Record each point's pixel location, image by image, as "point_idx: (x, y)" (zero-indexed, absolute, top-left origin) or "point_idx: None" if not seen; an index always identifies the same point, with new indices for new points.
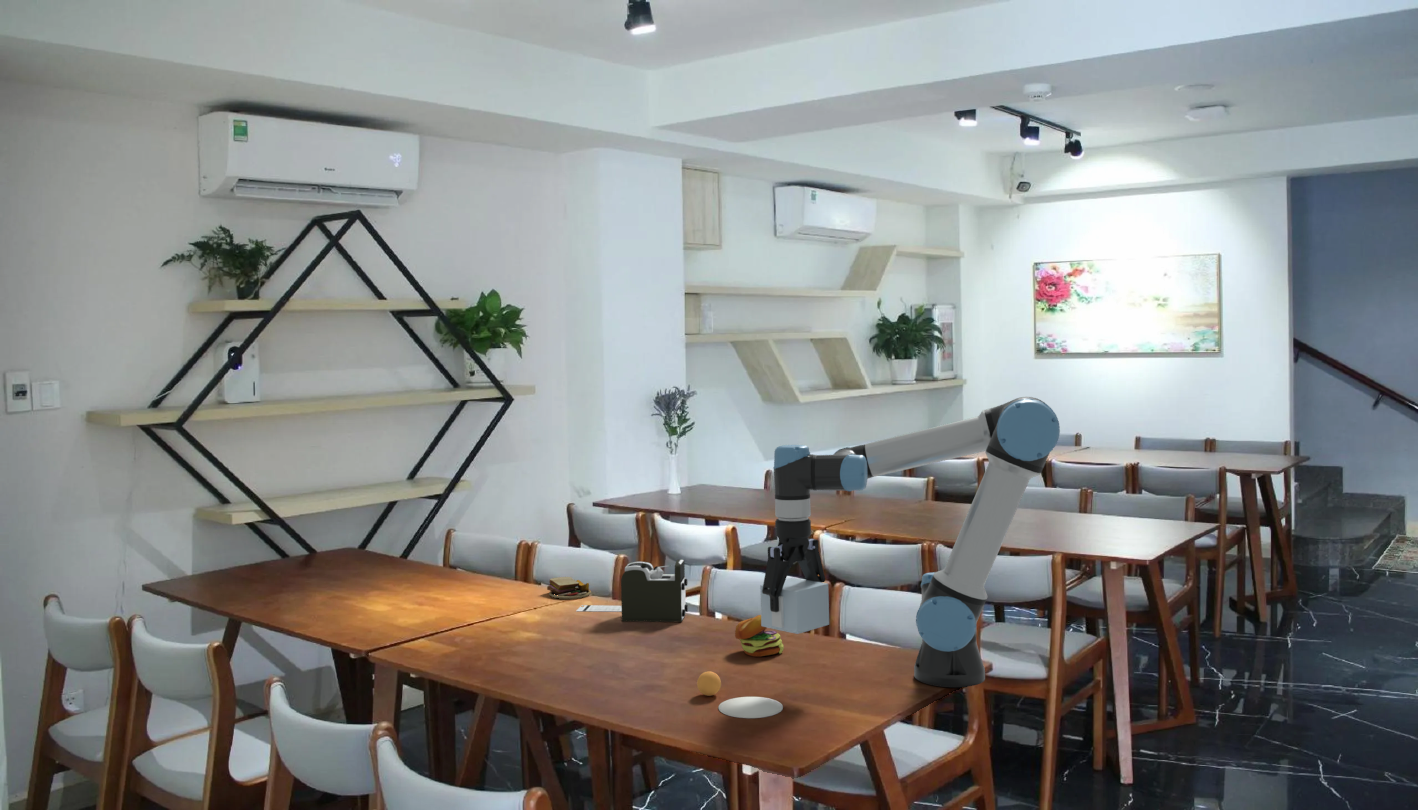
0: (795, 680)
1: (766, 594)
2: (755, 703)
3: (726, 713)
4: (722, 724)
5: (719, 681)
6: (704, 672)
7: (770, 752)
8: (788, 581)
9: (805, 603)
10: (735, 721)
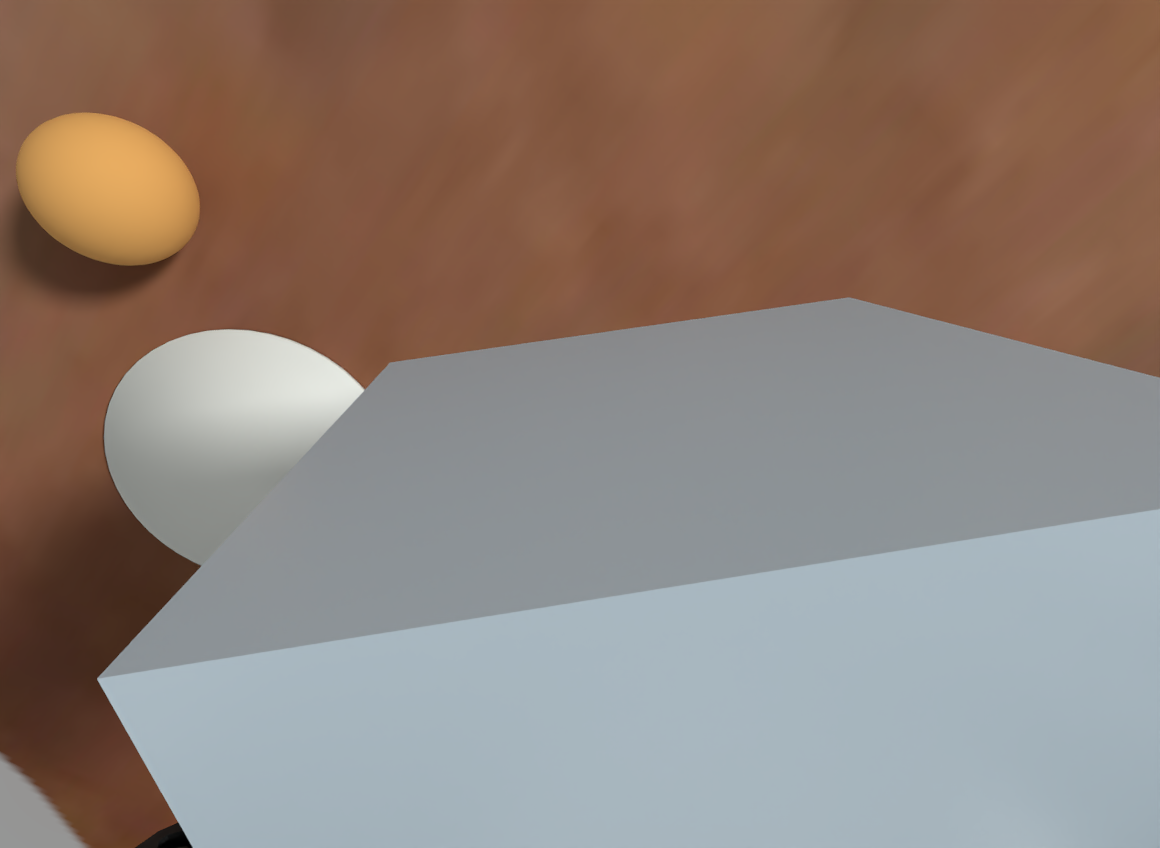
0: (662, 290)
1: (149, 846)
2: (298, 445)
3: (115, 473)
4: (50, 552)
5: (155, 254)
6: (38, 166)
7: (102, 803)
8: (977, 737)
9: None
10: (118, 553)
